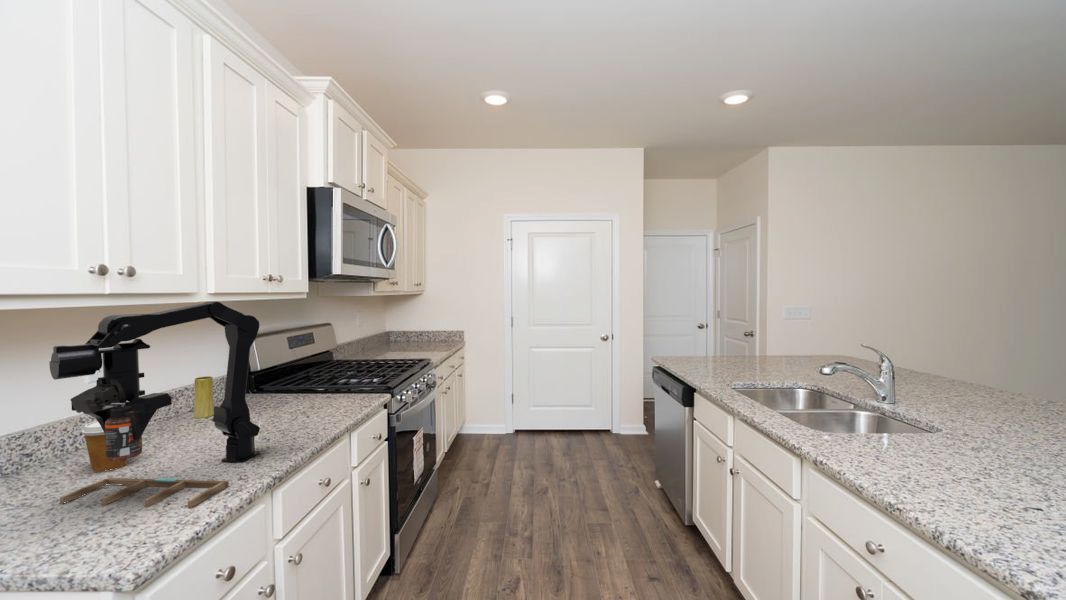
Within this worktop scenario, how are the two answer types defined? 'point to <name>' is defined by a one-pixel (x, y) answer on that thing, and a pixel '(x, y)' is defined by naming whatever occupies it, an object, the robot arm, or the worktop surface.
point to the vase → (203, 397)
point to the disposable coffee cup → (98, 448)
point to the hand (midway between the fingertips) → (124, 439)
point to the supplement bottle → (120, 436)
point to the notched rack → (141, 483)
